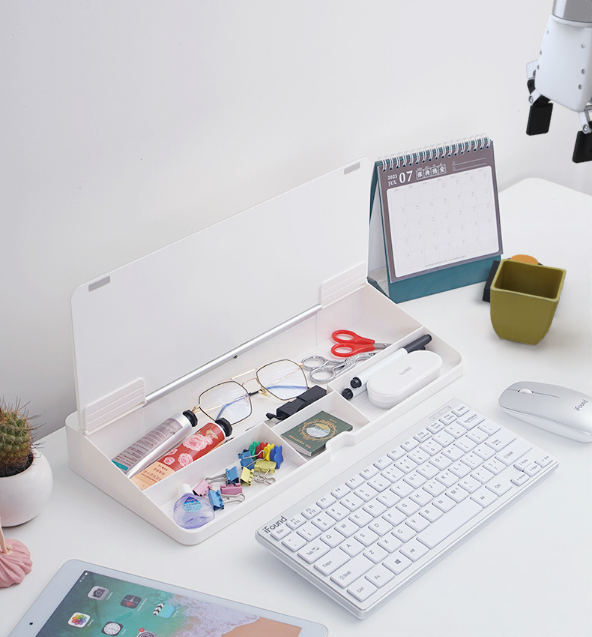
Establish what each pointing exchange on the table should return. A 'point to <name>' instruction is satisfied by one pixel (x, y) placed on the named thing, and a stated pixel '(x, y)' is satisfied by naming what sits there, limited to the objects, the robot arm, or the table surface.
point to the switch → (491, 280)
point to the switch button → (524, 259)
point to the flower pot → (524, 300)
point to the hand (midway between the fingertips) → (559, 147)
